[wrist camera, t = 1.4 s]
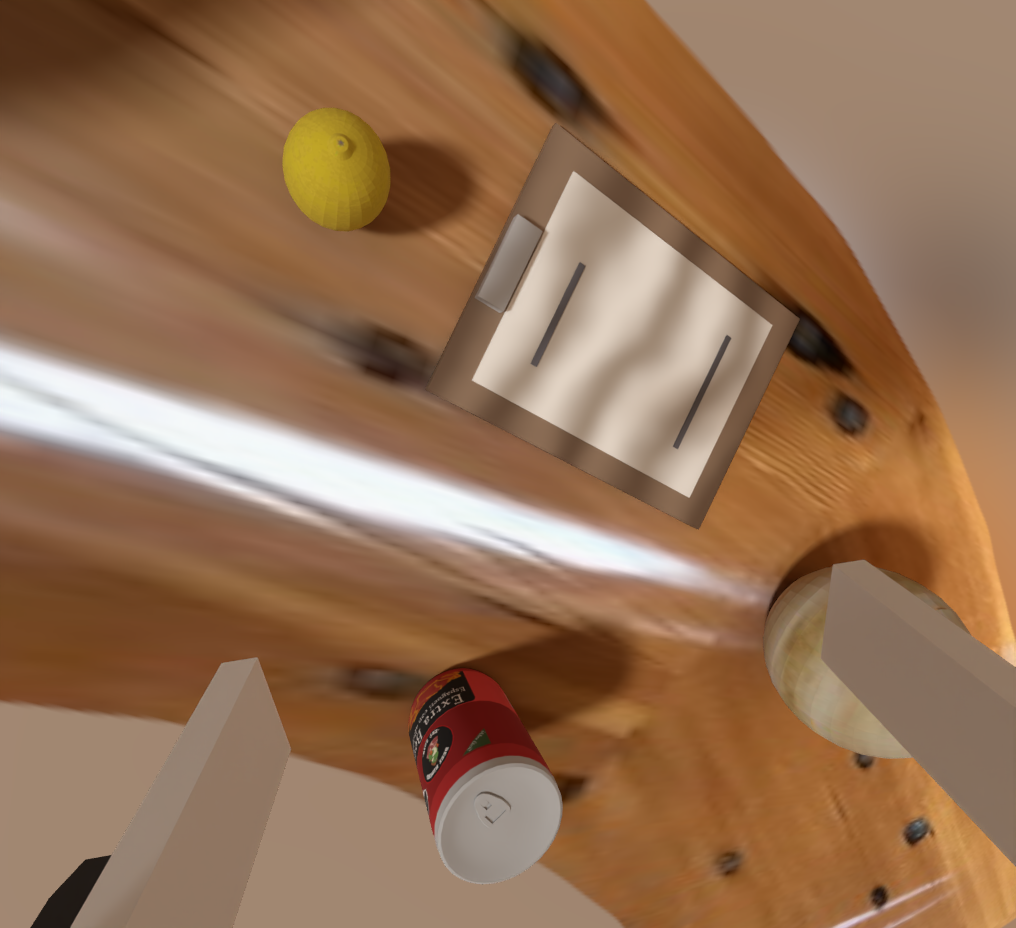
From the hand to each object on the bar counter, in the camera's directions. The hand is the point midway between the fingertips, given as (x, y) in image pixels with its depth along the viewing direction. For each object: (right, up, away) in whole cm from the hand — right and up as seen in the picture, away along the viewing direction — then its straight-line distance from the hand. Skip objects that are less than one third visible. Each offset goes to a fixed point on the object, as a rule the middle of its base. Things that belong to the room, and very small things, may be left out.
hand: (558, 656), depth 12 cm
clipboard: (+8, +13, +29) cm, 32 cm away
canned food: (-5, -15, +29) cm, 33 cm away
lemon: (-12, +21, +20) cm, 31 cm away
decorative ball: (+26, -10, +39) cm, 48 cm away
